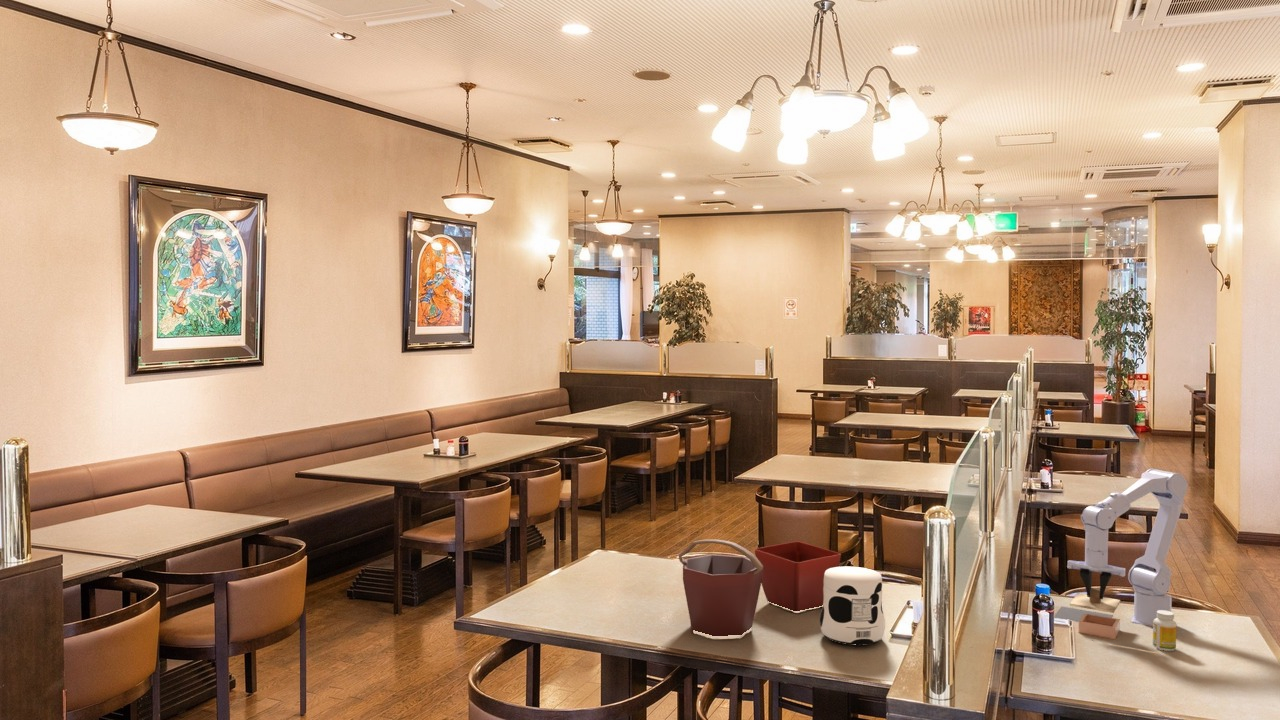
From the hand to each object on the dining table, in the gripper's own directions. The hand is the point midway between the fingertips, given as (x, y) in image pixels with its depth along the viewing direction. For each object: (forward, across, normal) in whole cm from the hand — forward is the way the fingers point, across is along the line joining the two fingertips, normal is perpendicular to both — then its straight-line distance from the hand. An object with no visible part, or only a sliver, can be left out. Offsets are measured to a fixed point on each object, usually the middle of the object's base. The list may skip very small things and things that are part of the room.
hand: (1095, 597), depth 254 cm
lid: (+2, 0, 0) cm, 2 cm away
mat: (+9, -4, +9) cm, 13 cm away
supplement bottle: (+9, +18, -6) cm, 21 cm away
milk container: (+9, -52, -49) cm, 72 cm away
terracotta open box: (+9, +2, -3) cm, 10 cm away
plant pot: (+9, -77, -31) cm, 84 cm away
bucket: (+10, -85, -63) cm, 106 cm away
